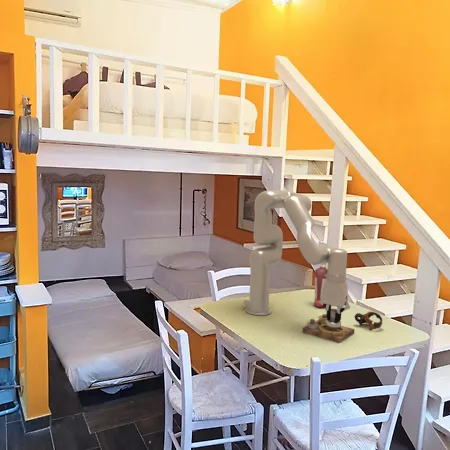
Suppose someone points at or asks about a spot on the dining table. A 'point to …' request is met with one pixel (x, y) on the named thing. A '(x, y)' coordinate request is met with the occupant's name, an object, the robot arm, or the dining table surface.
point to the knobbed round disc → (333, 320)
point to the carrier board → (327, 330)
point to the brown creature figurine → (368, 320)
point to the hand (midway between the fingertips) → (333, 320)
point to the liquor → (319, 284)
